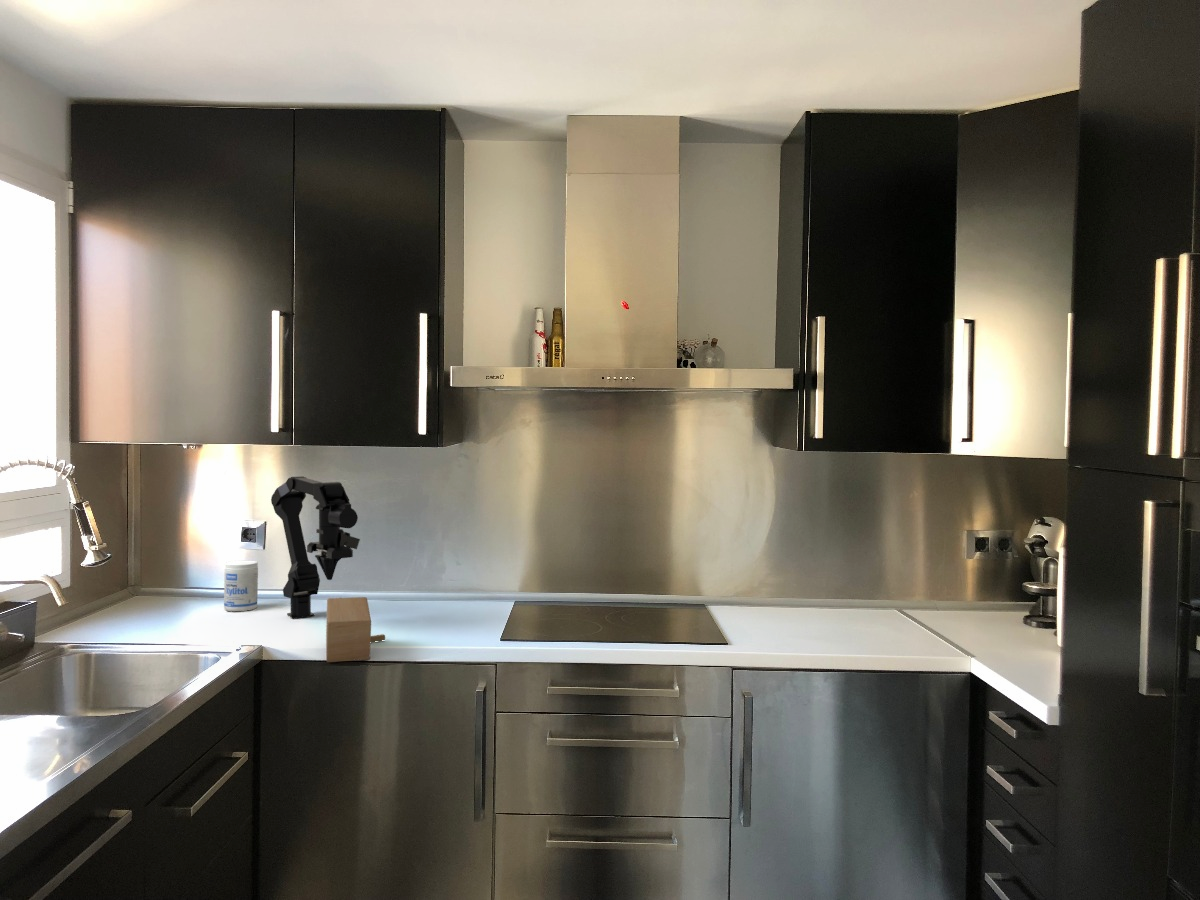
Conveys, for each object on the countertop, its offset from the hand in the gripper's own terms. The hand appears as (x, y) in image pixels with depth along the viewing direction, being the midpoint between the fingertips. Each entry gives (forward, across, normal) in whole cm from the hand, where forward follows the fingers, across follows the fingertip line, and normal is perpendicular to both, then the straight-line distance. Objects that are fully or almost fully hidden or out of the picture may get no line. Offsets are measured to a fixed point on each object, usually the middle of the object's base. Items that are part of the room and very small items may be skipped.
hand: (329, 579), depth 223 cm
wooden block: (+6, -21, +4) cm, 23 cm away
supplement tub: (+13, +38, +13) cm, 42 cm away
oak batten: (+13, -26, +3) cm, 29 cm away
